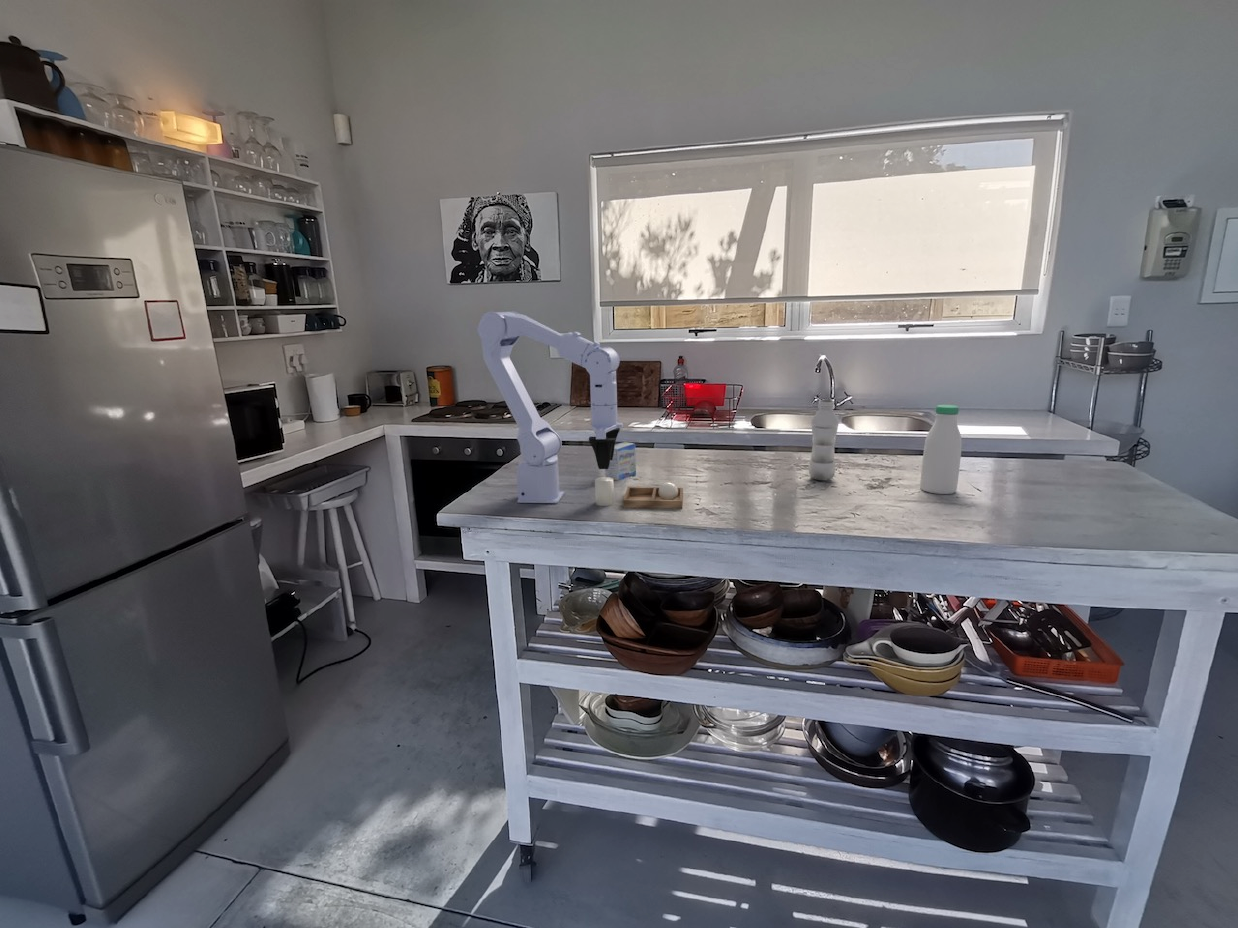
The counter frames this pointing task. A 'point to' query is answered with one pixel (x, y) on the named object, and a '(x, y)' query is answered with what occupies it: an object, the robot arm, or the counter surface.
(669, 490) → the ceramic egg
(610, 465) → the medicine box
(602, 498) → the white rounded block
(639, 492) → the caddy
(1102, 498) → the counter surface
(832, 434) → the plastic bottle
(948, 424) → the milk bottle
